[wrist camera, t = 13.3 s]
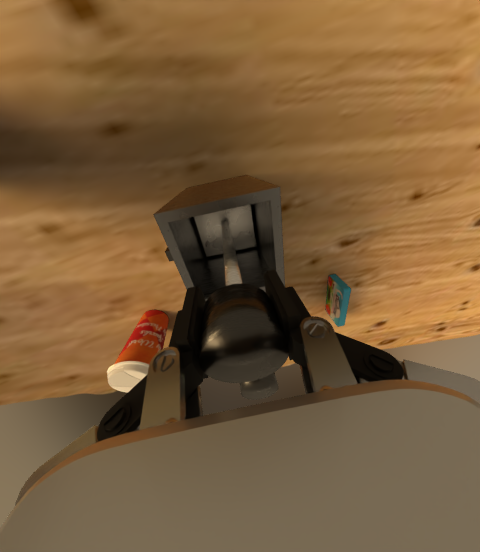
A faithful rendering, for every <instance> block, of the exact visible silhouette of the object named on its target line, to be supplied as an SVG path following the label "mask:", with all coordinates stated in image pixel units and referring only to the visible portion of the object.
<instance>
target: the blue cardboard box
mask: <svg viewBox="0 0 480 552" xmlns="http://www.w3.org/2000/svg"><path fill="white" fill-rule="evenodd" d="M350 292H351V288H350V287H349V286H348V285H347V284H346V283H345V282H344V281H342V280H341V279H340V278H339V277H338V276H337V275H336V274H332V275H329V276H328V286H327V297H326V309H325V310H326V312H327V313H328V314H329V316H330V317H331V318H332V320H333V321H334V322H335V324H336V325H337V326H338V327H339V326H343V325H345V319H346V314H347V308H348V303H349V297H350Z"/></svg>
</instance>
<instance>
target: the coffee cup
mask: <svg viewBox="0 0 480 552" xmlns="http://www.w3.org/2000/svg"><path fill="white" fill-rule="evenodd" d="M168 321H169V319H168V316H167V315H166V314H165V313H164V312H162V311H159V310H150V311H147V312H146V313H145V314H144V315H143V316H142V318H141V319H140V321H139V323H138V324H137V326H136V328H135V330H134V331H133V333H132V335H131V336H130V338H129V340H128V341H127V343H126V345H125V347H124V348H123V350H122V352H121V353H120V355H119V357H118V359H117V360H116V362H115V364H114V365H112V366H110V367H109V368H108V370H107V373H108V375H107V377H108V383H109V385H110V386H111V387H112V388H114V389H116V390H118V391H122V392H129V391H130V390H131V389H132V388H133V387H134V386H135V385H136V384H138V383H139V382H140V381H141V380H142V379H143V378H144V377H145V376H146V375H147V374H148V368H149V364H150V361H151V360H152V358H153V357H154V356H155V354H156V353H158V352H159V351H160V350H162V349H163V345H164V340H165V336H166V331H167V327H168Z"/></svg>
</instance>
